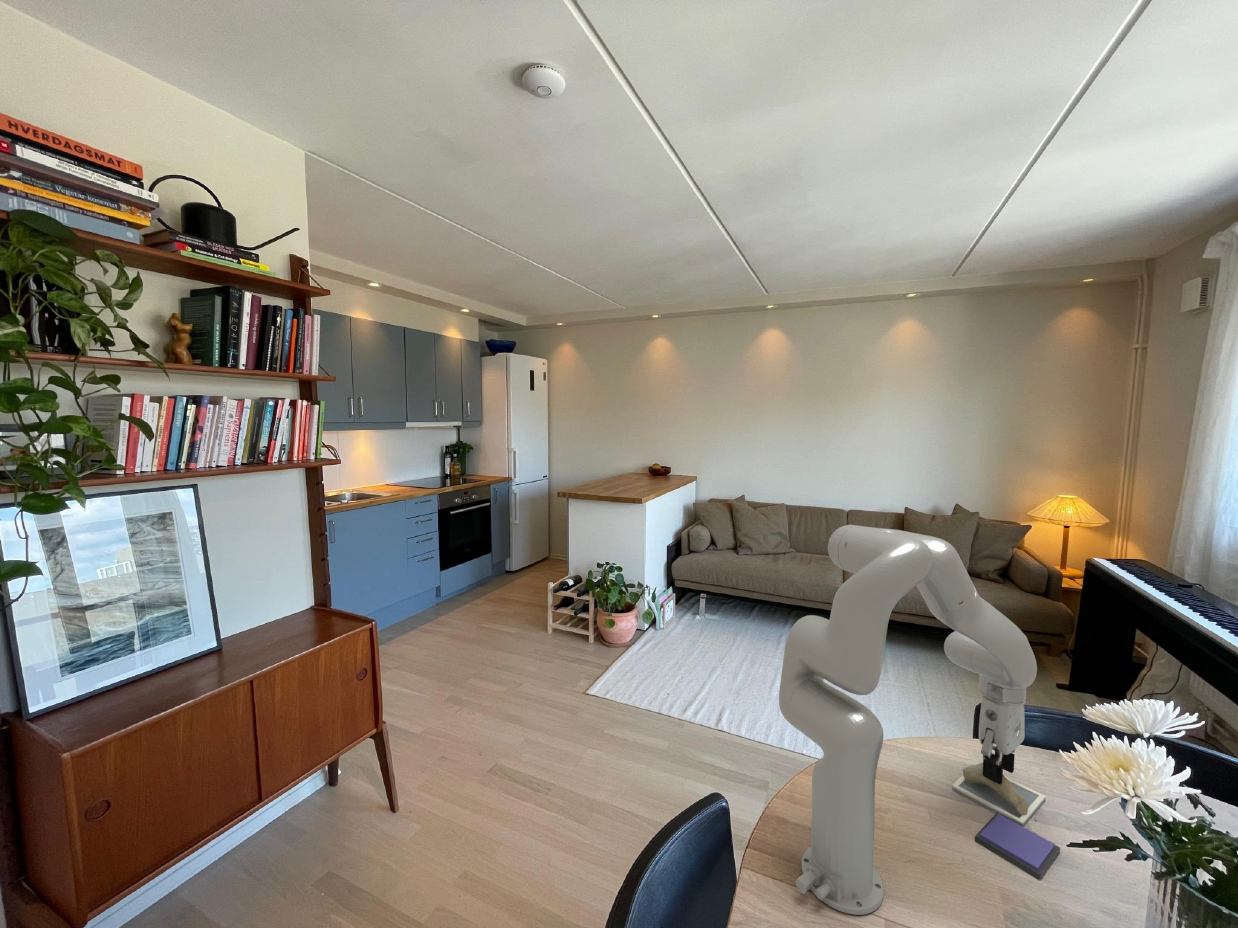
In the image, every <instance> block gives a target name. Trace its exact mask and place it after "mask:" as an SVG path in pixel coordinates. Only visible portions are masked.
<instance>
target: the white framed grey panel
mask: <svg viewBox="0 0 1238 928" xmlns="http://www.w3.org/2000/svg"><path fill="white" fill-rule="evenodd" d="M975 764H979V763H978V762H977V763H975ZM1005 777H1006V778H1007V779H1008V781H1009V782H1010V783H1011V784H1012V785H1013V786H1014V788H1015V789H1016V790H1017V791H1018V792H1019V793H1020V794H1021V795H1022V796H1023V797H1024V799H1025V800H1026V801H1027V803H1028V811H1027V815H1020V814H1019V812H1018V811H1017V810H1016V809H1015V808H1014V807H1013V805H1012V804H1011V803H1010V802H1009V801H1008V800H1007V799H1005V798H1004V797H1003V796H1001V795H1000V794H999V793H998V792H996V791H995V790H994V789H993V788H991V787H990V786H988V785H986V784H981V783H977V784H976V783H972V782H970V781H967V780H966V779H965V778H964V776H963V775H961V777H959V778H958V779H957V780H956V781H955V782H954V783H952V784H951V790H952V791H954V792H955V793H957V794H959V795H962V796H963V797H965V798H966V799H968V800H970V801H972V802H974V803H976V804H978V805H979V806H982V807H983V808H985V809H987V810H988V811H990V812H992V813H994V814H996V813H997V814H1000V815H1002V816H1004V817H1006V818H1008V819H1009V820H1011V821H1013V822H1015V823H1017V824H1019V825H1020V826H1022V827H1024V828H1025V826H1026V825H1027V823H1028V822H1029V821H1030V820H1031V819H1032V817H1033V816H1034V815H1035V814H1036V813H1037V811H1038V810H1039V809H1040V808H1041V807H1042V806H1043V804H1045V802H1046V795H1044V794H1042V793H1040V792H1038V791H1036V790H1034V789H1031V787H1030V788H1029V787H1027V786H1025V785H1024V784H1021V783H1019V782H1017V781H1015V780H1014V779H1011V778H1009V777H1007V776H1005Z"/></svg>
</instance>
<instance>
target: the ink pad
mask: <svg viewBox="0 0 1238 928" xmlns="http://www.w3.org/2000/svg"><path fill="white" fill-rule="evenodd" d="M974 842H975V843H977V844H979V845H981V846H983V847H984V848H986V849H987V850H989V851H991V852H992V853H994V854H996V855H998V856H999V857H1001V858H1003V859H1004V860H1005V861H1007V862H1009V863H1011V864H1012V865H1014V866H1015V867H1017V868H1019V869H1021V870H1023V871H1024V872H1026V873H1027V874H1029V875H1031V876H1032V877H1034V878H1036V879H1037V880H1039V881H1041V880H1042V879H1043V878H1044V876H1045V874H1046V873H1047V872H1048V870H1049V869H1050V867H1051V866H1052V865H1053V863H1054V862H1055V860H1056V859H1057V857H1058V856H1059V855H1060V853H1061V847H1060V846H1058V845H1056V844H1055V843H1053V842H1052V841H1050V840H1048V839H1046V838H1044V837H1043V836H1041V835H1039V834H1037V833H1035V832H1034V831H1031V830H1029V829H1028V828H1026V827H1025V826H1024V827H1022V826H1020V825H1019V824H1017V823H1015V822H1013V821H1011V820H1009V819H1008V818H1006V817H1004V816H1002V815H1000V814H997V813H994V815H993V816H992V817H991V818H990V820H989V821H987V823H986V824H985V825H984V826H983V827H982V828H981V829H980V830H979V831H978V832H977V833H976V834H975V835H974Z"/></svg>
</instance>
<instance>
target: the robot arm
mask: <svg viewBox="0 0 1238 928" xmlns="http://www.w3.org/2000/svg"><path fill="white" fill-rule="evenodd" d="M827 551H828V556H829V558H830V560H831V562H832V563H833V564H834V565H835V566H836V567H838V568H839V569H841V570H843V571H845V572H848V573H852V575H851V576H850V577H849V578H848V579H846V581H845V582H843V583H842V584H841V585H840V587H838V589H837V591H836V593H835V595H834V597H833V601H832V605H831V610H830V616H829V619H828V618H825V617H823V616H819V615H815V614H814V615H811V614H810V615H805V616H803V617H801V618H799V619H798V620H797V621H796V622H795V623H793V626H792V627H791V629H790V630H789V632H788V635H787V638H786V640H785V647H784V653H783V659H782V666H781V667H782V669H781V673H780V674H781V676H780V684H779V691H778V705H779V710H780V713H781V714H782V717H783V718H784V719H785V720H786V721H787V722H788V723H789V724H790V725H791V726H793V728H795V729H797V730H798V731H799V732H800V733H802V734H803V735H805V736H806V737H807V738H809V739H810V740H811V741H812V742H813V743H815V745H817V746H818V747H820V749H821V750H822V753H823V756H822V757H821V758H820V759H818V760H817V762H816V763H815V764H814V765H813V769H812V774H811V836H810V838H811V841H810V842H811V843H810V846H809V847H807V848H806V850H805V851H804V852H803V854H802V856H801V862H800V863H801V873H802V874H801V875H799V877H798V878H796V879H795V881H794V882H795V886H796V888H797V890H798V891H799V892H800V893H801V894H803V895H804V894H806V893H807V892H808V891H811V892H812V894H814V896H816V897H817V899H819V900H820V901H821V902H823V903H824V904H826V905H827V906H829V907H830V908H832V909H834V910H837V911H839V912H842V913H846V914H848V915H849V914H850V915H855V916H856V915H859V916H860V915H863V916H864V915H867V914H870V913H872V912H875V911H876V910H877V909H879V907H880V906H881V904H882V902H883V901H884V900H883V899H884V884H883V879H882V877H881V875H880V873H879V871H878V870H877V868H876V867H875V866H874V854H875V853H874V851H875V848H874V847H875V843H874V841H875V806H876V803H875V802H876V801H875V797H876V796H875V795H876V792H875V791H876V777H877V769H878V765H879V759H880V756H881V752H882V748H883V743H884V738H885V736H884V729H883V728H884V727H883V726H882V724H881V721H880V719H879V718H878V717H877V716H876V714H875V713H874V712H873V711H872V710H871V709H870V708H868V706H865V705H864V704H863V703H861V702H860V701H859V700H856V699H855V698H853V697H851V696H850V695H848V694H846V693H845V692H843V691H846V692H848V693H850V694H853V695H857V696H867V695H869V694H871V693H873V692H874V691H875V690H876V688H877V687H878V684H879V682H880V679H881V678H880V677H881V674H882V670H883V669H882V668H883V661H884V654H885V647H886V640H887V639H886V637H887V633H888V627H889V626H888V624H889V620H890V617H891V614H892V612H893V609H894V608H895V607H896V605H897V604H898V602H899V601H900V600H901V599H902V598H903V597H904V596H906V594H907V593H908V592H910V591H911V590H912V589H913V588H915V587H917V589H918V591H919V593H920V594H921V597H922V598H923V600H924V603H925V604H926V606H927V608H928V610H929V611H930V613H931V614H932V615H933V616H934V617H935V618H936V619H937V620H938V621H940V622H941V623H943V624H944V625H945V626H947V627H949V628H951V629H952V630H953V632H951V633H950V634H948V636H947V637H946V638H945V640H944V644H943V650H944V653H945V656H946V657H947V658H948V660H949V661H950V662H951V663H953V664H955V665H957V666H958V667H961V668H963V669H965V670H968V671H969V672H972V673H975V674H977V675H979V676H978V677H979V679H978V692H979V693H980V695H982V698H981V704H980V713H979V722H978V741H979V742H980V744H981V745H982V746H981V749H980V754H982V763H983V776H984V777H986V778H988V779H990V780H992V781H994V782H996V783H998V784H1002V779H1003V775H1004V772H1003V771H1006V772H1009V773H1010V774H1013V773H1014V772H1015V758H1016V757H1015V755H1016V754H1015V752H1016V749H1017V748H1018V747H1019V746H1020V745H1022V743H1023V742H1024V740H1025V737H1026V736H1025V735H1026V734H1025V732H1026V731H1025V704H1026V701H1027V688H1028V687H1030V686H1031V685H1032V684H1033V683H1034V681H1036V677H1037V672H1038V665H1037V659H1036V656H1035V654H1034V653H1035V652H1033V651H1034V650H1033V649H1032V647H1031V645H1030V642H1029V640H1028V637H1027V636H1026V634H1025V633H1024V632H1023V631H1022V630H1021V628H1019V627H1018V626H1017V625H1016V624H1015V623H1014V622H1013V621H1011V620H1010V619H1009V618H1008V617H1007V616H1006V615H1004V614H1003V613H1002V612H1000V610H998V609H997V608H996V607H995V606H993V605H992V604H991V603H989V602H988V601H986V599H983V598H982V597H981V596H980V595H979V593H978V591H977V588H976V587H975V585H974V582H973V581H972V579H971V577H970V575H969V573H968V571H967V569H966V567H965V565H964V563H963V561H962V559H961V557H960V555H959V553H958V551H957V549H956V548H955V547H954V546H953V545H952V544H951V543H950V542H948V541H946V540H945V539H942V538H939V537H936V536H931V535H926V534H923V533H922V534H921V533H915V532H911V531H907V530H906V531H905V530H901V529H892V528H881V527H871V526H864V525H863V526H862V525H856V524H847V525H843V526H840V527H838V528H837V529H835V530H834V532H832V534H831V536H830V537H829V539H828V543H827ZM824 680H825V681H827V682H828V683H830V684H832V685H834V686H836V687H838V688H840V689H842V690H843V691H842V690H839V689H838V688H836V687H834V686H832V685H830V684H828V683H827V682H825V681H824ZM992 751H994V753H993V752H992Z"/></svg>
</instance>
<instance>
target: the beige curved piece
mask: <svg viewBox="0 0 1238 928" xmlns="http://www.w3.org/2000/svg"><path fill="white" fill-rule="evenodd" d="M962 776H964V778H965V779H966V780H967V781H970V782H972V783H976V784H977V783H981V784H986V785H988V786H990V787H991V788H993V789H994V790H995V791H996V792H998V793H999V794H1000V795H1001V796H1003V797H1004V798H1005V799H1007V800H1008V801H1009V802H1010V803H1011V804H1012V805H1013V807H1014V808H1015V809H1016V810H1017V811H1018V812H1019V814H1020V815H1027V811H1028V803H1027V801H1026V800H1025V799H1024V797H1023V796H1022V795H1021V794H1020V793H1019V792H1018V791H1017V790H1016V789H1015V788H1014V786H1013V785H1012V784H1011V783H1010V782H1009V781H1008V779H1007V778H1008V777H1007V776H1005V775H1004V774H1003V779H1002V784H998V783H996V782H994V781H992V780H990V779H988V778H986V777H984V776H983V762H981V763H978V764H976V763H975V764H971V765H969V766H965V767H963V769H962ZM1006 777H1007V778H1006Z"/></svg>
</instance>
